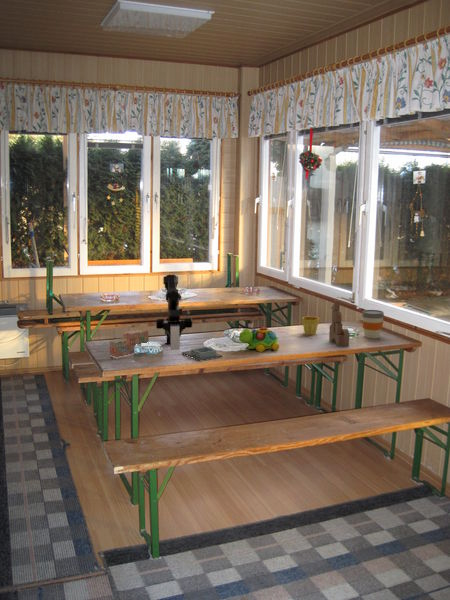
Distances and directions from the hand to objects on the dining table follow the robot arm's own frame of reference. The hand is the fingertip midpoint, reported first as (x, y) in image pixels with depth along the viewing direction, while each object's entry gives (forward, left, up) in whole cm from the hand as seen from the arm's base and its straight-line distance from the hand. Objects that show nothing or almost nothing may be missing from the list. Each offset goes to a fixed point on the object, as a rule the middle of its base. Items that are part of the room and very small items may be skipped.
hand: (175, 337), depth 328 cm
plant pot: (-91, +32, -12) cm, 97 cm away
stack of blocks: (+5, -27, -13) cm, 30 cm away
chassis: (-15, +6, -12) cm, 20 cm away
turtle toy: (-44, +24, -13) cm, 52 cm away
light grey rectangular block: (-1, -1, -7) cm, 7 cm away
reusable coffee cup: (-105, +66, -12) cm, 125 cm away
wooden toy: (-79, +56, -13) cm, 98 cm away
